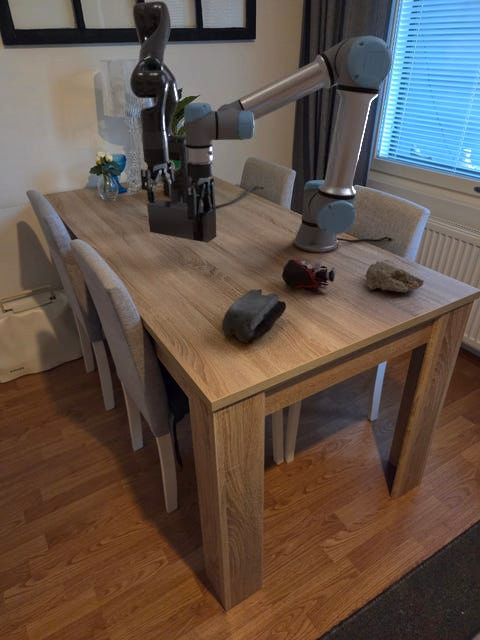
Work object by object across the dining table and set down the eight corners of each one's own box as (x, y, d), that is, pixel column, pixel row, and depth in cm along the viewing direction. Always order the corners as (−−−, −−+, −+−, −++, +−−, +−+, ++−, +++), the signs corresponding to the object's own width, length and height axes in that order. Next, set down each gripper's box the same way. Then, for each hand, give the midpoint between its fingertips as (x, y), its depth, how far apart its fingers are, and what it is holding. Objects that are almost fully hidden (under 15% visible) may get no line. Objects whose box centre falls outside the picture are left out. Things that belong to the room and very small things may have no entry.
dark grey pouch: (257, 354, 105) (257, 326, 101) (216, 341, 109) (215, 314, 105) (287, 319, 119) (289, 292, 114) (250, 308, 123) (250, 283, 119)
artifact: (384, 303, 127) (425, 296, 132) (391, 281, 123) (434, 275, 127) (349, 272, 141) (388, 267, 145) (355, 251, 136) (395, 247, 141)
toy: (334, 253, 124) (283, 248, 130) (327, 283, 122) (275, 277, 127) (338, 272, 135) (291, 267, 140) (332, 300, 132) (284, 294, 138)
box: (150, 232, 147) (146, 203, 142) (160, 226, 151) (157, 198, 146) (207, 243, 139) (206, 213, 134) (216, 236, 143) (215, 207, 138)
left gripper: (151, 151, 127) (156, 206, 135) (178, 143, 138) (181, 195, 146) (130, 148, 130) (136, 203, 138) (158, 141, 141) (162, 192, 149)
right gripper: (194, 170, 121) (198, 249, 133) (225, 156, 136) (227, 229, 148) (171, 167, 124) (177, 245, 136) (204, 154, 138) (207, 226, 151)
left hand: (160, 199), depth 142 cm, fingers open, 8 cm apart
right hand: (203, 236), depth 142 cm, fingers closed on box, 6 cm apart
